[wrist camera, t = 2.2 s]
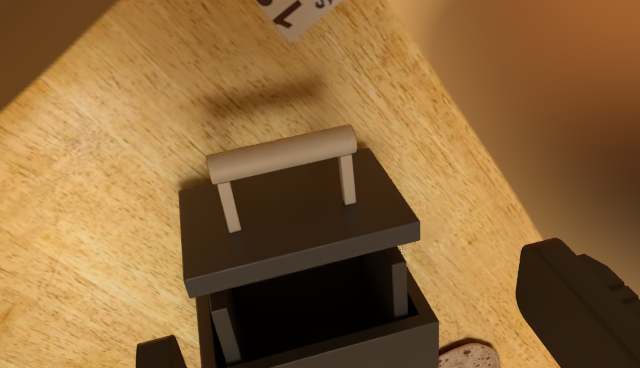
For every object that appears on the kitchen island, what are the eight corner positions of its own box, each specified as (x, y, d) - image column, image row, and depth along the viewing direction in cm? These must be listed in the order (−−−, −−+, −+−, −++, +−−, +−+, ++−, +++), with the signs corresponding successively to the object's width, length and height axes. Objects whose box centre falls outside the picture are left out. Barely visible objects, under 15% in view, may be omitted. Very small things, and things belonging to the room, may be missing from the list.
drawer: (157, 122, 29) (157, 202, 23) (364, 79, 31) (419, 143, 24) (226, 349, 39) (240, 450, 32) (381, 307, 40) (423, 396, 34)
